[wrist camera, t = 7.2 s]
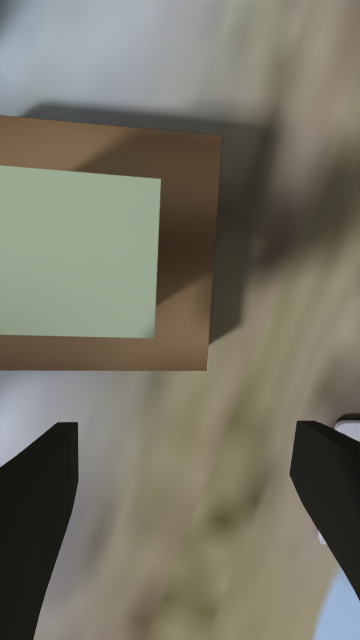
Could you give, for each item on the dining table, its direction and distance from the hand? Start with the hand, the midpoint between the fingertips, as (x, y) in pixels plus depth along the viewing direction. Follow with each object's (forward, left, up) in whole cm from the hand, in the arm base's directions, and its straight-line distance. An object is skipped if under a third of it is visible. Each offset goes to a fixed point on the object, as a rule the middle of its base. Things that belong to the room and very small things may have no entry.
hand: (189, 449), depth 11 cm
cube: (+6, +4, -6) cm, 9 cm away
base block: (+6, +4, -9) cm, 12 cm away
